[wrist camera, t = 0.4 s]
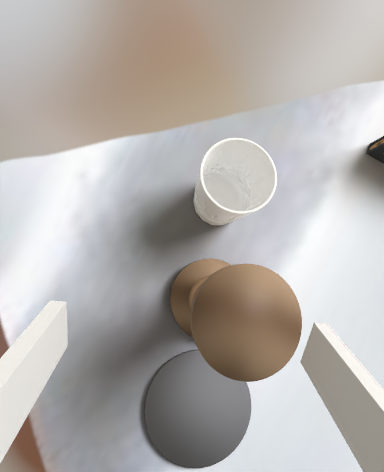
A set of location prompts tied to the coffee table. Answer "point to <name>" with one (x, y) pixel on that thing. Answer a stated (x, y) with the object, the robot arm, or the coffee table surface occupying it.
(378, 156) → the ammunition clip
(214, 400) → the pad
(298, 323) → the doorknob
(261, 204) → the white cup
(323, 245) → the coffee table surface
